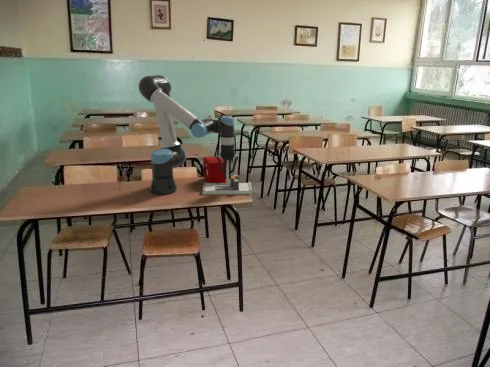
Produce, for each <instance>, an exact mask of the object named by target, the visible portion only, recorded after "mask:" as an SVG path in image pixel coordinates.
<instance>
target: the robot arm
mask: <svg viewBox="0 0 490 367" xmlns="http://www.w3.org/2000/svg"><path fill="white" fill-rule="evenodd" d="M138 91H139V93H140V94H141V96H142V97H143V98H144V99H145V100H147V101H148V102H150V103H151V104H153V108H154V110H155V115H156V118H157V124H158V128H159V131H160V132H159V133H160V137H161V142H162V145H161V146H160V147H161V148H160V149H156V150H154V151H152V152H151V154H150V155H151V156H150V157H151V158H150V163H151V174H152V176H151V177H152V178H151V183H150V186H149V191H150V193H152V194H154V195H169V194H173V193H176V191H177V190H178V189H177V184H176V182H175V181H176V180H175V178H174V169H176V168H177V167H180V166H182V165H183V164H184V163H185V162H186V159H187V152H186V150H185V149H184V148H183V147H182V144H181V142H179V141H178V138H177V134H176V129H175V124H174V119H175V120H176V121H178V122H179V123H180V124H182V125H183V126H184V127H186V128H187V129H188V130H190V132H191V134H192V136H193V137H195V138H198V139H200V138H204V137H206V136H208V135H209V134H220V144H221V145H220V153H219V154H218V155H216V156H215V157H216V158H217V160H218V162H219V165H220V169H221V172H222V173H224V178H225V179H226V185H229V183H230V180H231V176H232V174H233V173H235V169H236V167H237V166H236V165H237V161H238V159H239V155H237V154H236V153H235V121H234V117H233V116H229V115H225V116H224V115H222V116H220V119H212V118H211V119H209V118H202V119H200V118H198V117H197V116H195V114H193V113H192V112H190V111H189V110H188V109H186V108H185V107H184V106H182V105H181V104H180V103H179V102H177V101H176V100H174V99H173V98H171V94H170V93H171V91H172V84H171V81H170V79H169V78H167V77H166V76H165V75H161V74H157V75H146V76H143V77H142V78H141V79H140V80H139V82H138ZM173 118H174V119H173ZM221 157H222V158H223V160H224V170H223V167H222V164H221V160H220V159H221ZM233 159H234V161H233V164H232V160H233ZM227 161H228V172H227Z"/></svg>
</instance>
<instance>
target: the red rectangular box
mask: <svg viewBox="0 0 490 367" xmlns="http://www.w3.org/2000/svg"><path fill="white" fill-rule="evenodd" d="M220 160H221V164H222V167H223V170H224V160H223V158H222V157H221V159H220ZM202 172H203V174H202V175H203V179H204V181H205V182H206V183H226V179H225V178H224V173H222V172H221V169H220V165H219V162H218V160H217V158H216V156H203V158H202Z"/></svg>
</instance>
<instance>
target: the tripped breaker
mask: <svg viewBox="0 0 490 367" xmlns="http://www.w3.org/2000/svg"><path fill="white" fill-rule="evenodd" d="M234 179H236V178H235V176H234V175H233V176H232V175H231V179H230V183H231V187H233V181H234Z"/></svg>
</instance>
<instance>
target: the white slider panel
mask: <svg viewBox="0 0 490 367" xmlns="http://www.w3.org/2000/svg"><path fill="white" fill-rule="evenodd" d="M233 176H235V178H236V179H234V181H233V187H231V182H229V185H226V183H207V182H206V181H205V182H203V185H202V195H253V189H252V183H251V181H248V182H240V180H239V175H238V174H233Z"/></svg>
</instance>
